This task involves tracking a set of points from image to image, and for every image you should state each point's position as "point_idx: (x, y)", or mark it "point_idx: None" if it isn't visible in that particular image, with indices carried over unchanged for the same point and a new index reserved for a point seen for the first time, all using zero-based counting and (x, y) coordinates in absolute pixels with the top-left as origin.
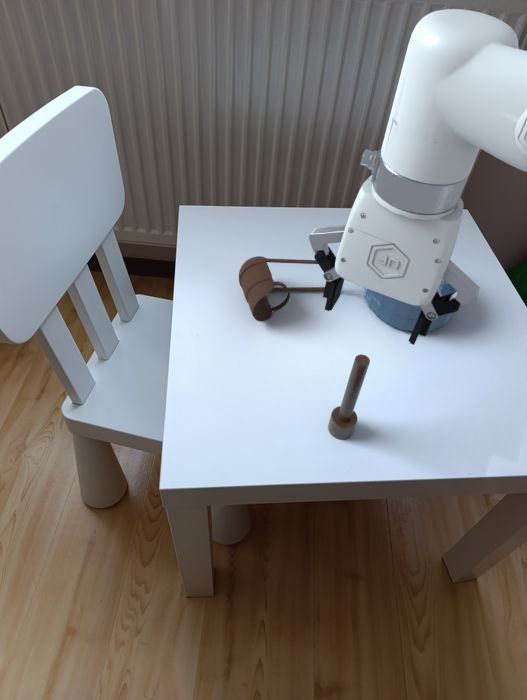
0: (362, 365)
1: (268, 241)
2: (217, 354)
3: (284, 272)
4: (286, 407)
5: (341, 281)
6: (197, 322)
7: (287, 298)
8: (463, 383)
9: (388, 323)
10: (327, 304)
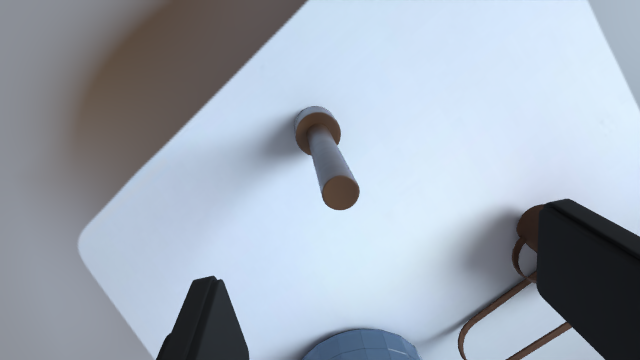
0: (331, 178)
1: None
2: (554, 112)
3: (538, 309)
4: (406, 102)
5: (634, 341)
6: (614, 142)
7: (518, 269)
8: None
9: (360, 330)
10: (584, 213)
